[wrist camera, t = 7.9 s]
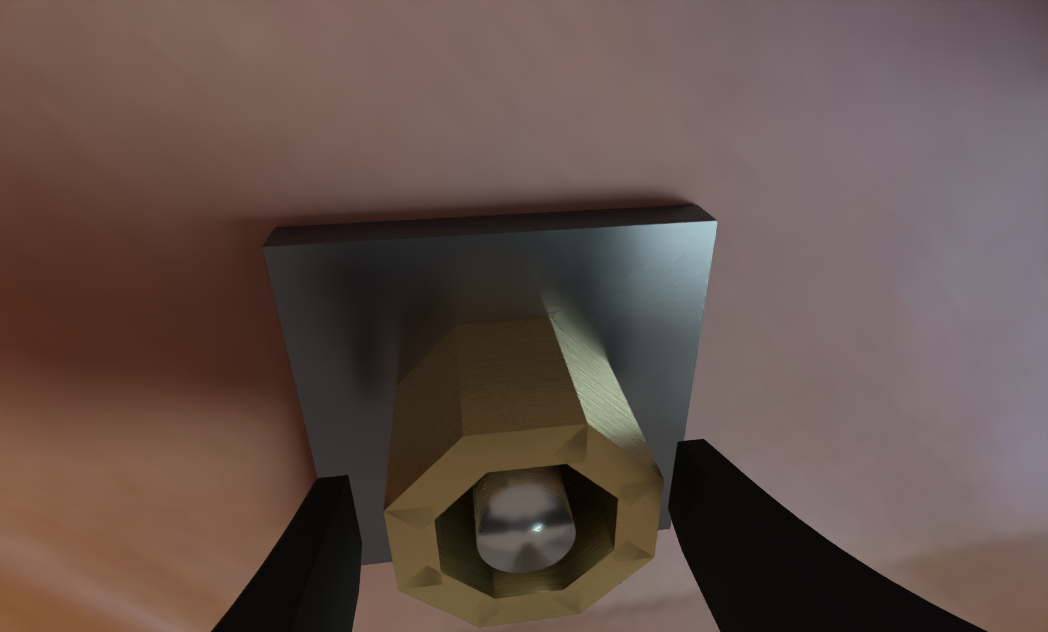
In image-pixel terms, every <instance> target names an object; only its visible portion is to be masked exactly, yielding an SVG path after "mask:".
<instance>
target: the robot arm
mask: <svg viewBox="0 0 1048 632" xmlns="http://www.w3.org/2000/svg"><path fill="white" fill-rule="evenodd" d="M668 510H669V513H670V516H671V520H672V523H673V526H674V529H675V532H676V535H677V538H678V541H679V543H680V546H681V549H682V552H683V554H684V556H685V558H686V560H687V563H688V565H689V567H690V569H691V571H692V573H693V575H694V577H695V580H696V582H697V584H698V586H699V588H700V590H701V592H702V594H703V596H704V598H705V601H706V603H707V605H708V607H709V609H710V611H711V613H712V615H713V617H714V619H715V621H716V623H717V626H718V628H719V630H720V632H987V631H985V630H983V629H981V628H979V627H977V626H975V625H973V624H971V623H969V622H967V621H965V620H963V619H961V618H959V617H957V616H955V615H953V614H951V613H949V612H947V611H945V610H943V609H941V608H940V607H938V606H936V605H934V604H932V603H930V602H928V601H926V600H925V599H923V598H921V597H919V596H918V595H916V594H914V593H912V592H910V591H909V590H907V589H905V588H903V587H902V586H900V585H898V584H896V583H895V582H893V581H891V580H889V579H888V578H886V577H884V576H883V575H881V574H879V573H878V572H876V571H875V570H873V569H871V568H870V567H868V566H867V565H865V564H864V563H862V562H861V561H859V560H857V559H856V558H854V557H853V556H851V555H850V554H848V553H847V552H845V551H844V550H842V549H841V548H839V547H838V546H836V545H835V544H833V543H832V542H830V541H829V540H828V539H826V538H825V537H823V536H822V535H821V534H819V533H818V532H817V531H815V530H814V529H813V528H811V527H810V526H808V525H807V524H806V523H804V522H803V521H802V520H800V519H799V518H798V517H796V516H795V515H794V514H793V513H791V512H790V511H789V510H787V509H786V508H785V507H784V506H782V505H781V504H780V503H779V502H777V501H776V500H775V499H774V498H772V497H771V496H770V495H769V494H768V493H766V492H765V491H764V490H763V489H761V488H760V487H759V486H758V485H757V484H756V483H754V482H753V481H752V480H751V479H750V478H748V477H747V476H746V475H745V474H744V473H743V472H741V471H740V470H739V469H738V468H737V467H736V466H734V465H733V464H732V463H731V462H730V461H729V460H728V459H726V458H725V457H724V456H723V455H722V454H721V453H720V452H718V451H717V450H716V449H715V448H714V447H713V446H711V445H710V444H709V443H708V442H707V441H706V440H704V439H697V440H687V441H678V442H677V448H676V455H675V462H674V468H673V475H672V482H671V489H670V496H669V502H668ZM361 555H362V539H361V534H360V529H359V524H358V519H357V515H356V510H355V505H354V500H353V495H352V490H351V486H350V481H349V476H348V475H342V476H332V477H322V478H318V479H317V480H316V481H315V482H314V483H313V485H312V487H311V489H310V490H309V492H308V494H307V496H306V497H305V499H304V501H303V502H302V504H301V506H300V507H299V509H298V511H297V512H296V514H295V516H294V517H293V519H292V520H291V522H290V523H289V525H288V527H287V528H286V530H285V531H284V533H283V534H282V536H281V537H280V539H279V540H278V542H277V543H276V545H275V546H274V548H273V549H272V551H271V552H270V554H269V555H268V557H267V558H266V560H265V561H264V563H263V564H262V566H261V567H260V568H259V570H258V571H257V573H256V574H255V575H254V577H253V578H252V579H251V581H250V582H249V583H248V585H247V586H246V587H245V589H244V590H243V591H242V593H241V594H240V595H239V597H238V598H237V599H236V601H235V602H234V603H233V605H232V606H231V607H230V609H229V610H228V611H227V612H226V614H225V615H224V616H223V617H222V619H221V620H220V621H219V622H218V624H217V625H216V626H215V627H214V628H213V630H212V631H211V632H352V627H353V622H354V616H355V610H356V605H357V599H358V593H359V584H360V571H361Z"/></svg>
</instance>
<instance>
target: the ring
mask: <svg viewBox="0 0 1048 632" xmlns="http://www.w3.org/2000/svg"><path fill="white" fill-rule="evenodd" d="M551 465H559V468H560V472H561V476H562V479H563V483H564V487H565V491H566V494H567V498H568V502H569V506H570V510H571V513H572V517H573V521H574V525H575V529H576V536H575V540H574V543H573V545H572V547H571V548H570V550H569V551H568V552H567V554H566V555H565V556H564V557H562V558H561V559H560V560H559V561H557V562H556V563H554V564H552V565H551V566H548V567H546V568H544V569H541V570H537V571H533V572H527V573H510V572H505V571H501V570H498V569H496V568H494V567H492V566H490V565H489V564H487V563H486V562H485V561H484V560H483V559H482V558H481V556H480V554H479V552H478V549H477V540H476V527H475V514H474V501H473V488H472V485H474V484H475V483H476V482H477V481H478V480H479V479H480V478H481V477H482V476H484V475H485V474H486V473H487V472H496V471H505V470H515V469H524V468H533V467H542V466H551ZM663 486H664V478H663V476H662V473H661V471H660V469H659V467H658V465H657V463H656V461H655V459H654V457H653V455H652V453H651V450H650V448H649V446H648V444H647V442H646V440H645V438H644V436H643V434H642V432H641V430H640V427H639V425H638V423H637V421H636V419H635V417H634V415H633V413H632V411H631V409H630V406H629V404H628V402H627V400H626V398H625V396H624V394H623V392H622V390H621V388H620V386H619V383H618V381H617V379H616V377H615V375H614V373H613V371H612V369H611V367H610V366H609V365H607V364H606V363H605V362H604V361H603V360H601V359H600V358H599V357H598V356H596V355H595V354H594V353H593V352H591V351H590V350H589V349H588V348H586V347H585V346H584V345H583V344H581V343H580V342H579V341H578V340H577V339H575V338H574V337H573V336H572V335H570V334H569V333H568V332H567V331H565V330H564V329H563V328H562V327H560V326H559V325H558V324H557V323H556V322H554V321H553V320H552V319H551V318H541V319H528V320H516V321H504V322H491V323H479V324H467V325H456V326H455V327H454V328H453V329H452V330H451V331H450V332H449V333H448V334H447V335H446V336H445V337H444V338H443V339H442V340H441V341H440V342H439V343H438V344H437V345H436V346H435V347H434V348H433V349H432V350H431V351H430V352H429V353H428V354H427V355H426V356H425V357H424V358H423V360H422V361H421V362H420V363H419V364H418V365H417V366H416V367H415V368H414V369H413V370H412V371H411V372H410V373H409V374H408V375H407V376H406V377H405V378H404V379H403V380H402V381H401V382H400V383H399V384H398V385H397V386H396V390H395V400H394V410H393V420H392V430H391V440H390V450H389V461H388V471H387V481H386V491H385V501H384V511H383V512H384V517H385V522H386V528H387V533H388V538H389V544H390V549H391V555H392V560H393V565H394V571H395V576H396V581H397V587H398V590H399V591H401V592H403V593H405V594H408V595H410V596H412V597H414V598H416V599H418V600H421V601H423V602H425V603H427V604H429V605H431V606H434V607H436V608H438V609H440V610H442V611H445V612H447V613H449V614H451V615H453V616H455V617H458V618H460V619H462V620H464V621H466V622H468V623H471V624H473V625H475V626H477V627H479V628H482V627H489V626H496V625H503V624H511V623H518V622H525V621H532V620H540V619H547V618H554V617H561V616H569V615H576V614H580V613H582V612H583V611H584V610H586V609H587V608H588V607H589V606H591V605H592V604H593V603H595V602H596V601H597V600H599V599H600V598H601V597H603V596H604V595H605V594H607V593H608V592H609V591H610V590H612V589H613V588H614V587H616V586H617V585H618V584H620V583H621V582H622V581H624V580H625V579H626V578H628V577H629V576H630V575H631V574H633V573H634V572H635V571H637V570H638V569H639V568H641V567H642V566H643V565H645V564H646V563H647V562H649V561H650V560H651V559H652V558H654V555H655V547H656V540H657V532H658V524H659V516H660V509H661V501H662V493H663Z"/></svg>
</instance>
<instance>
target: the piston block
mask: <svg viewBox="0 0 1048 632" xmlns="http://www.w3.org/2000/svg"><path fill="white" fill-rule="evenodd" d="M716 228H717V220H716V219H715V218H713V217H712V216H711V215H710V214H708V213H707V212H706V211H705V210H703V209H702V208H701V207H699V206H698V205H681V206H662V207H644V208H625V209H607V210H588V211H570V212H552V213H533V214H515V215H496V216H478V217H460V218H441V219H423V220H404V221H386V222H368V223H349V224H331V225H312V226H294V227H276V228H275V229H274V230H273V232H272V233H271V235H270V236H269V238H268V239H267V241H266V242H265V243H264V245H263V246H262V249H263V253H264V257H265V262H266V266H267V270H268V274H269V278H270V282H271V286H272V291H273V295H274V299H275V303H276V307H277V311H278V315H279V320H280V324H281V328H282V332H283V336H284V340H285V345H286V349H287V353H288V357H289V361H290V365H291V369H292V374H293V378H294V382H295V386H296V390H297V394H298V398H299V403H300V407H301V411H302V415H303V419H304V423H305V427H306V432H307V436H308V440H309V444H310V448H311V452H312V457H313V461H314V465H315V469H316V473H317V477H318V478H322V477H332V476H342V475H348V476H349V481H350V486H351V490H352V495H353V500H354V505H355V510H356V515H357V519H358V524H359V529H360V534H361V539H362V555H361V565H368V564H376V563H385V562H393V560H392V555H391V549H390V544H389V538H388V533H387V528H386V522H385V517H384V512H383V511H384V501H385V491H386V481H387V471H388V461H389V450H390V440H391V430H392V420H393V410H394V400H395V390H396V386H397V385H398V384H399V383H400V382H401V381H402V380H403V379H404V378H405V377H406V376H407V375H408V374H409V373H410V372H411V371H412V370H413V369H414V368H415V367H416V366H417V365H418V364H419V363H420V362H421V361H422V360H423V358H424V357H425V356H426V355H427V354H428V353H429V352H430V351H431V350H432V349H433V348H434V347H435V346H436V345H437V344H438V343H439V342H440V341H441V340H442V339H443V338H444V337H445V336H446V335H447V334H448V333H449V332H450V331H451V330H452V329H453V328H454V327H455V326H456V325H467V324H479V323H491V322H504V321H516V320H528V319H541V318H551V319H552V320H553V321H554V322H556V323H557V324H558V325H559V326H560V327H562V328H563V329H564V330H565V331H567V332H568V333H569V334H570V335H572V336H573V337H574V338H575V339H577V340H578V341H579V342H580V343H581V344H583V345H584V346H585V347H586V348H588V349H589V350H590V351H591V352H593V353H594V354H595V355H596V356H598V357H599V358H600V359H601V360H603V361H604V362H605V363H606V364H607V365H609V366H610V367H611V369H612V371H613V373H614V375H615V377H616V379H617V381H618V383H619V386H620V388H621V390H622V392H623V394H624V396H625V398H626V400H627V402H628V404H629V406H630V409H631V411H632V413H633V415H634V417H635V419H636V421H637V423H638V425H639V427H640V430H641V432H642V434H643V436H644V438H645V440H646V442H647V444H648V446H649V448H650V450H651V453H652V455H653V457H654V459H655V461H656V463H657V465H658V467H659V469H660V471H661V473H662V476H663V478H664V486H663V493H662V501H661V509H660V516H659V524H658V530H663V529H670V526H671V516H670V513H669V510H668V502H669V496H670V489H671V482H672V475H673V468H674V462H675V455H676V448H677V442H678V441H684V435H685V428H686V422H687V416H688V409H689V403H690V396H691V390H692V383H693V377H694V370H695V364H696V357H697V351H698V344H699V338H700V331H701V325H702V318H703V312H704V305H705V299H706V292H707V286H708V279H709V273H710V266H711V260H712V253H713V247H714V241H715V234H716ZM472 488H473V501H474V514H475V527H476V540H477V549H478V552H479V554H480V556H481V558H482V559H483V560H484V561H485V562H486V563H487V564H489V565H490V566H492V567H494V568H496V569H498V570H501V571H505V572H510V573H527V572H533V571H537V570H541V569H544V568H546V567H548V566H551V565H552V564H554V563H556V562H557V561H559V560H560V559H561V558H562V557H564V556H565V555H566V554H567V552H568V551H569V550H570V548H571V547H572V545H573V543H574V540H575V536H576V529H575V525H574V521H573V517H572V513H571V510H570V506H569V502H568V498H567V494H566V491H565V487H564V483H563V479H562V476H561V472H560V468H559V465H551V466H542V467H533V468H524V469H515V470H505V471H496V472H487V473H486V474H485V475H484V476H482V477H481V478H480V479H479V480H478V481H477V482H476V483H475V484H474V485H472Z"/></svg>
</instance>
